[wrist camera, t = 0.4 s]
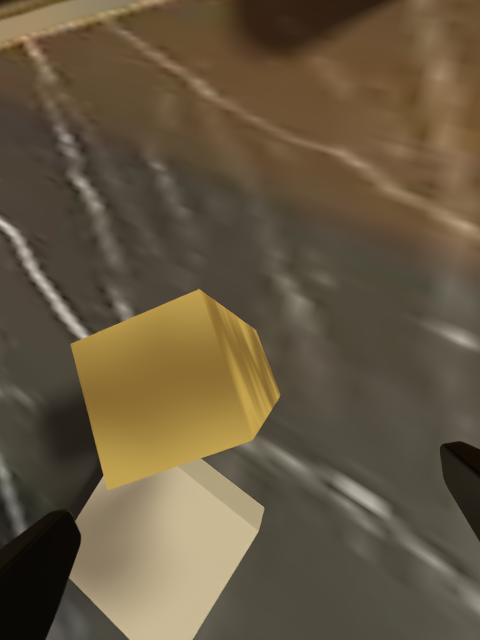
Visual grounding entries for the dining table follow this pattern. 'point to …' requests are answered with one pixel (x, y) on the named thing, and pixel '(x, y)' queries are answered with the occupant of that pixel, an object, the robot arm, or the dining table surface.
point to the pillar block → (173, 387)
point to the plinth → (163, 548)
